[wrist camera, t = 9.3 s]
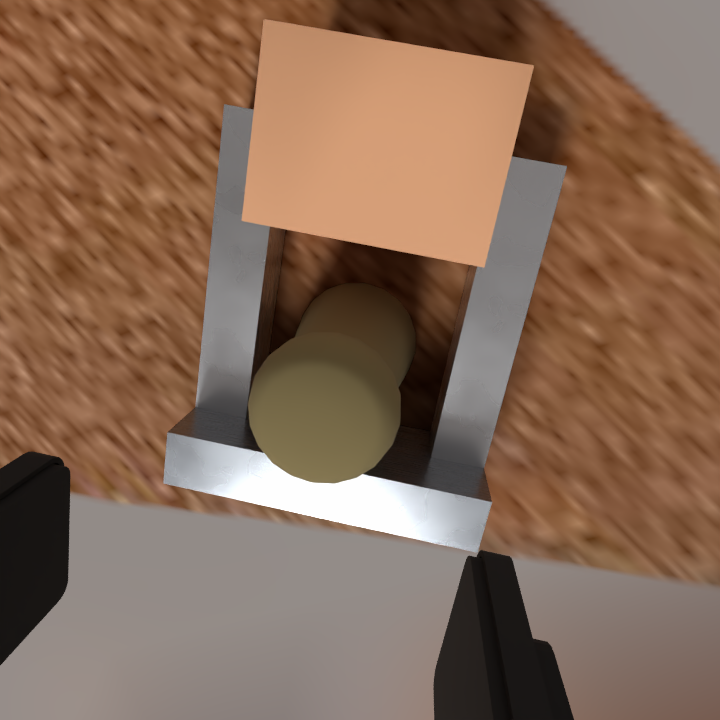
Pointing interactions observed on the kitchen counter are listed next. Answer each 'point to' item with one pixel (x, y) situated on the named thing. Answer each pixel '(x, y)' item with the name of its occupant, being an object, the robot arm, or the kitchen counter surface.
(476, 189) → the block
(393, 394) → the cork
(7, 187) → the kitchen counter surface
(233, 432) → the u-shaped metal bracket
